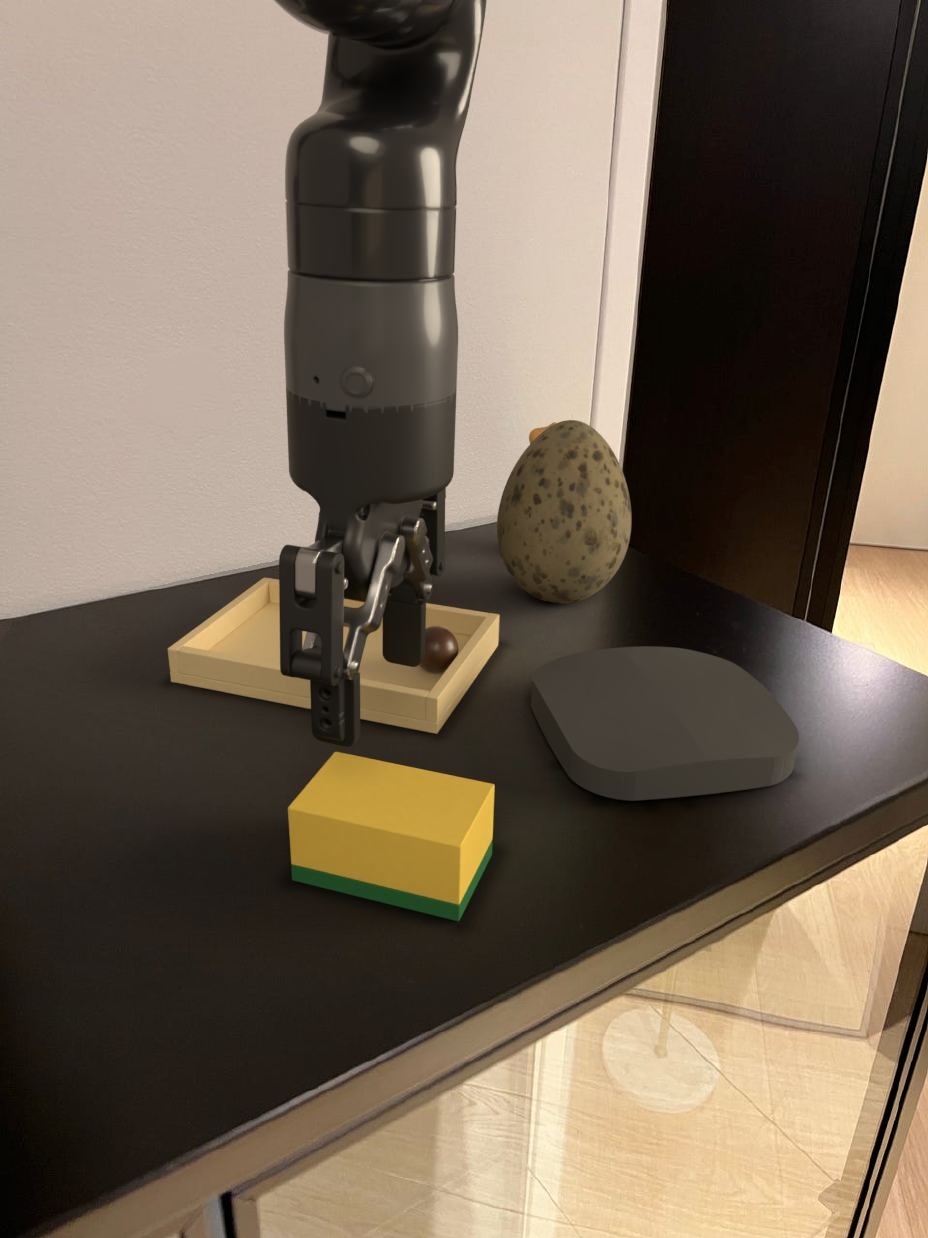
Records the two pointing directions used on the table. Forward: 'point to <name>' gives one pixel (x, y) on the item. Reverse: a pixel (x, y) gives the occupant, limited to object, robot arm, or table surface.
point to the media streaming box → (661, 723)
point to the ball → (439, 649)
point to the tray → (389, 693)
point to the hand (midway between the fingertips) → (372, 698)
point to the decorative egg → (565, 515)
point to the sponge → (392, 834)
